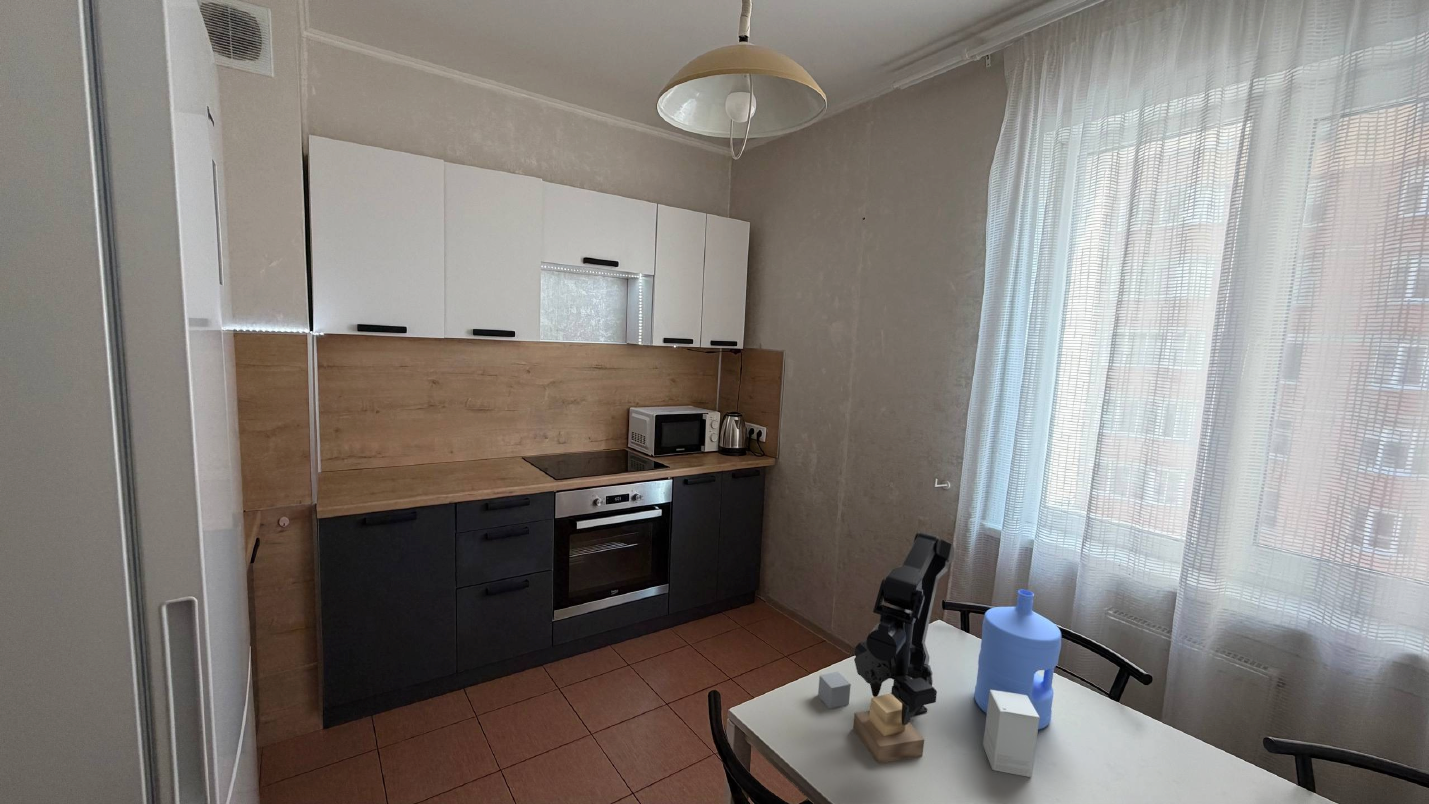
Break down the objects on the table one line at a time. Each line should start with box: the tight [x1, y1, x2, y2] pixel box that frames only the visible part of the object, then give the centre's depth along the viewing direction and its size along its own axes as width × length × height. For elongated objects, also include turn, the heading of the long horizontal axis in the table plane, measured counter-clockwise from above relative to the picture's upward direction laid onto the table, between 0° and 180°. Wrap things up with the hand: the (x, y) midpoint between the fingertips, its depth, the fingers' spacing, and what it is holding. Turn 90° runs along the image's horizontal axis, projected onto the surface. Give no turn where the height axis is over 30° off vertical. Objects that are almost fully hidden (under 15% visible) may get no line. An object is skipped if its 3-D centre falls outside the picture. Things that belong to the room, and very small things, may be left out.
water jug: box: [973, 589, 1062, 730], centre depth 130 cm, size 16×16×28 cm
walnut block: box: [852, 710, 925, 764], centre depth 118 cm, size 10×10×4 cm
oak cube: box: [869, 692, 905, 736], centre depth 118 cm, size 5×5×5 cm
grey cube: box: [817, 671, 851, 710], centre depth 131 cm, size 5×5×5 cm
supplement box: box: [982, 690, 1040, 778], centre depth 114 cm, size 7×7×13 cm
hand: (889, 709), depth 117 cm, fingers open, 9 cm apart
